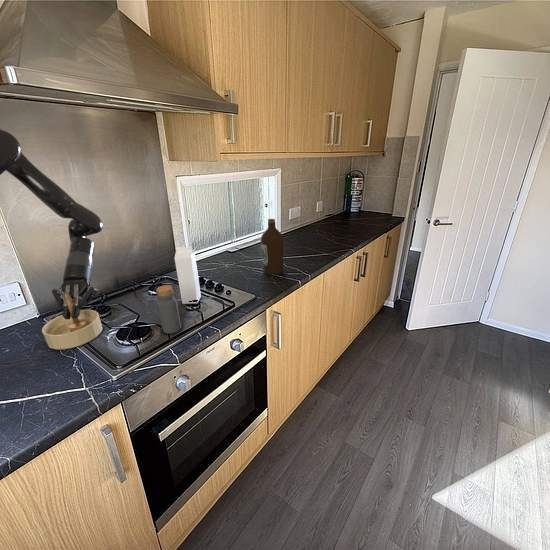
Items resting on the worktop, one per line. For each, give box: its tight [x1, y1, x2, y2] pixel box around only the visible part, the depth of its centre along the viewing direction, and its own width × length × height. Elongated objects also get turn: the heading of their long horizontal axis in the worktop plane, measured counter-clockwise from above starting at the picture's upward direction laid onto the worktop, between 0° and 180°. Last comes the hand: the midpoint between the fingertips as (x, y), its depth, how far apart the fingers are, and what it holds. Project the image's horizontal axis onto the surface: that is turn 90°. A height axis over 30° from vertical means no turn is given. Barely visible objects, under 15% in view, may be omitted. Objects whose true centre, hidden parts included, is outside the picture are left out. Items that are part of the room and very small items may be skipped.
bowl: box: [41, 309, 104, 350], centre depth 94 cm, size 15×15×6 cm
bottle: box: [155, 284, 182, 335], centre depth 94 cm, size 6×6×15 cm
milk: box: [174, 246, 202, 305], centre depth 111 cm, size 6×6×22 cm
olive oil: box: [260, 218, 285, 276], centre depth 136 cm, size 11×11×25 cm
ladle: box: [64, 294, 87, 332], centre depth 93 cm, size 5×5×13 cm
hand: (70, 318), depth 91 cm, fingers closed on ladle
